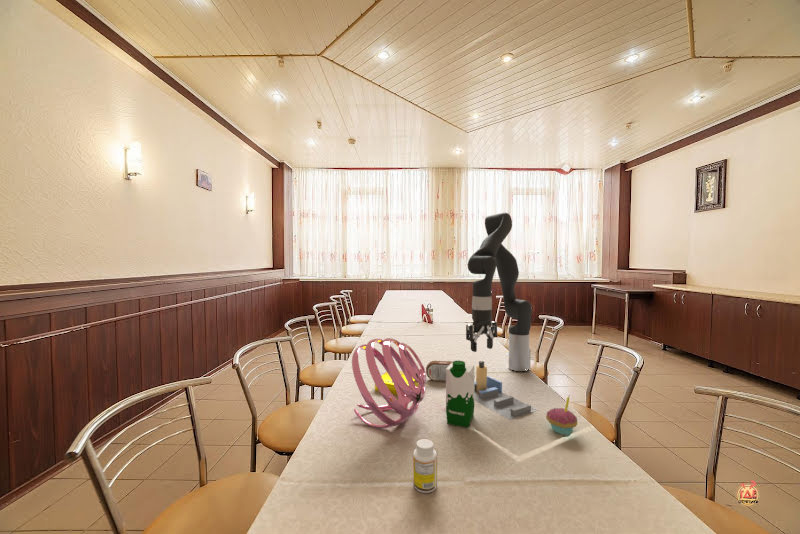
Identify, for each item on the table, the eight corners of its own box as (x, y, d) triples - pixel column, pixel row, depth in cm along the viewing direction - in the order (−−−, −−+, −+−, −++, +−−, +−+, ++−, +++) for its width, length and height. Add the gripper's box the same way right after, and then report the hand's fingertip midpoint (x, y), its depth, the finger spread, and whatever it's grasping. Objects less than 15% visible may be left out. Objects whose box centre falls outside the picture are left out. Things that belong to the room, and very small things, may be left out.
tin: (460, 380, 144) (460, 360, 143) (461, 382, 140) (461, 363, 140) (426, 378, 145) (425, 360, 145) (425, 381, 142) (425, 362, 142)
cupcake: (574, 428, 103) (575, 390, 102) (579, 443, 95) (580, 402, 94) (544, 424, 106) (545, 387, 105) (547, 437, 98) (547, 398, 97)
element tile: (372, 391, 133) (372, 379, 133) (389, 378, 146) (389, 368, 146) (406, 398, 126) (406, 385, 126) (421, 384, 140) (421, 373, 140)
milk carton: (443, 424, 106) (443, 362, 105) (451, 412, 114) (451, 355, 113) (470, 430, 102) (470, 366, 101) (476, 417, 110) (476, 358, 110)
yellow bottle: (481, 389, 130) (481, 359, 130) (489, 393, 127) (489, 362, 127) (474, 391, 129) (474, 361, 128) (481, 395, 125) (481, 364, 125)
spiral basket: (311, 366, 104) (381, 320, 99) (353, 361, 129) (409, 324, 125) (349, 455, 94) (428, 409, 89) (385, 431, 119) (448, 394, 115)
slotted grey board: (485, 386, 136) (485, 374, 136) (538, 412, 113) (538, 398, 113) (458, 393, 129) (458, 381, 129) (509, 422, 106) (509, 407, 106)
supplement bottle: (422, 474, 81) (422, 434, 81) (441, 484, 78) (441, 442, 77) (408, 487, 77) (408, 444, 77) (427, 498, 73) (427, 453, 73)
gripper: (488, 305, 133) (488, 345, 134) (461, 307, 126) (461, 350, 127) (502, 307, 127) (502, 349, 127) (474, 310, 120) (474, 355, 120)
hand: (481, 349), depth 127 cm, fingers open, 7 cm apart
